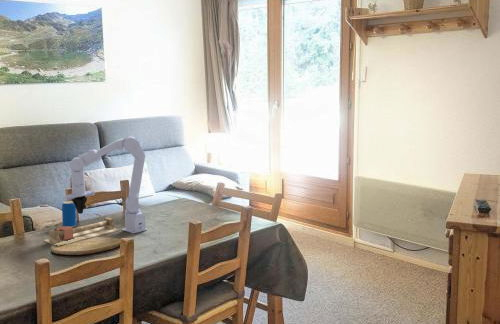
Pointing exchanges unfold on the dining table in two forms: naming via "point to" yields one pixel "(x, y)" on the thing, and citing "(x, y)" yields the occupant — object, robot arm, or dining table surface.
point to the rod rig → (85, 231)
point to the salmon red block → (66, 232)
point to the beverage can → (69, 214)
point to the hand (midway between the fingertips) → (80, 213)
